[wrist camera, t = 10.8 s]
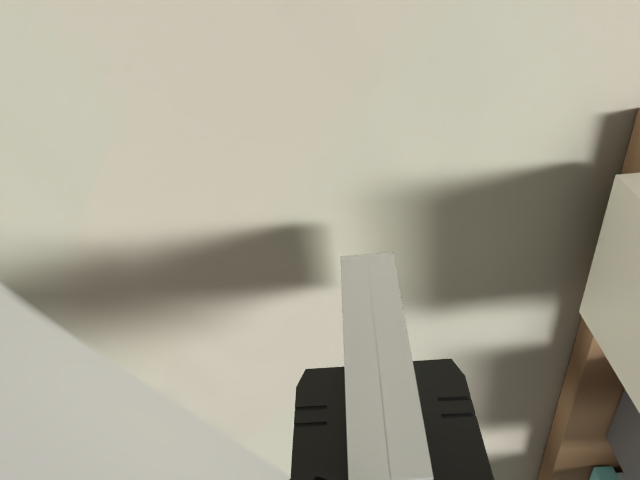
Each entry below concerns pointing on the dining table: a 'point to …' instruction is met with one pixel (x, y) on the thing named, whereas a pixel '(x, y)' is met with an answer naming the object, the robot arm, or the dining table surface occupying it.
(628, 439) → the charcoal key
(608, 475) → the teal key
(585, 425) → the key console
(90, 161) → the dining table surface
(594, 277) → the ivory key
